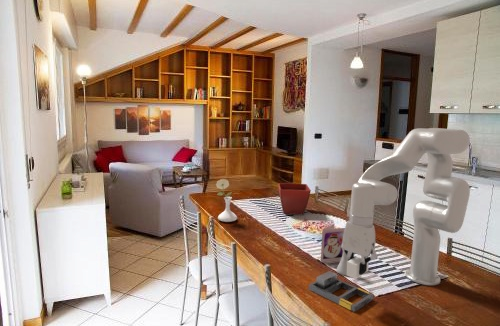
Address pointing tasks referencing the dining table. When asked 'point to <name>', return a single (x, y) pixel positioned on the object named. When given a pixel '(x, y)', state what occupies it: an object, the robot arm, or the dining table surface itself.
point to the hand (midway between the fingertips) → (356, 270)
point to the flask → (343, 265)
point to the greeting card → (332, 244)
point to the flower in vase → (227, 214)
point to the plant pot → (294, 197)
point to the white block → (354, 267)
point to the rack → (330, 284)
